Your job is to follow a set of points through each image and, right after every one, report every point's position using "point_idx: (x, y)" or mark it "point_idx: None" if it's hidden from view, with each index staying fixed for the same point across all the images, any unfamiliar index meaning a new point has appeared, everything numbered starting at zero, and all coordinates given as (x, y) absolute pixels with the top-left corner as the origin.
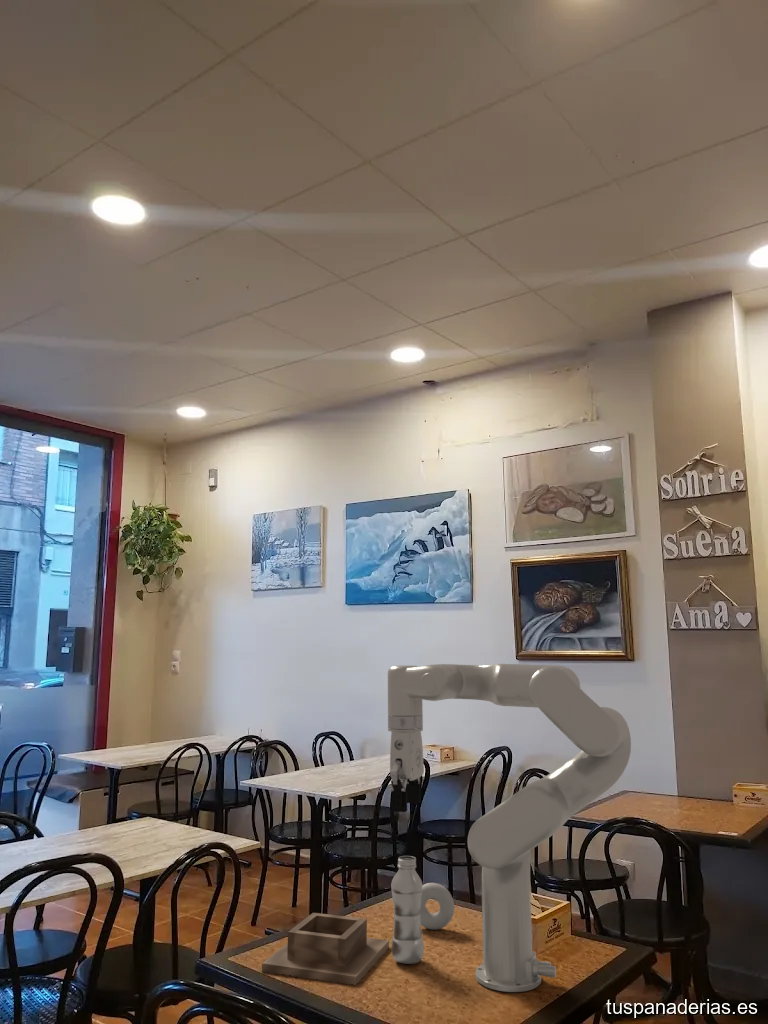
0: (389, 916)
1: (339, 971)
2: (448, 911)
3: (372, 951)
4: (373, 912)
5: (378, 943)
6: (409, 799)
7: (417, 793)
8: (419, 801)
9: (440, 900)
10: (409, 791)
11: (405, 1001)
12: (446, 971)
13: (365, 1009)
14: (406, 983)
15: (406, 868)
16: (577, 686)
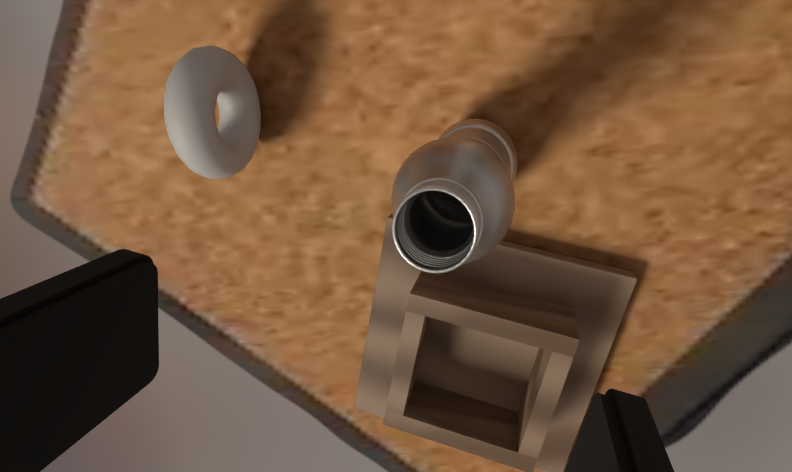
0: (195, 227)
1: (603, 318)
2: (235, 64)
3: None
4: (181, 265)
5: None
6: (137, 361)
7: (74, 314)
8: (136, 258)
9: (219, 89)
10: (66, 411)
11: (738, 143)
12: (530, 49)
13: (785, 238)
14: (617, 151)
15: (483, 221)
16: None
